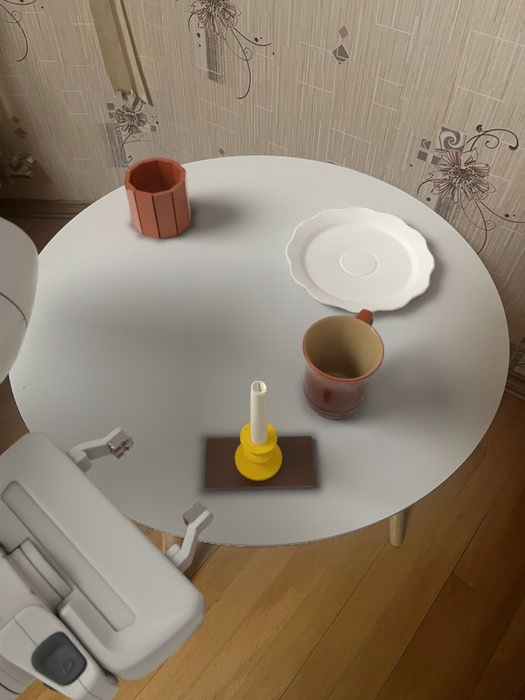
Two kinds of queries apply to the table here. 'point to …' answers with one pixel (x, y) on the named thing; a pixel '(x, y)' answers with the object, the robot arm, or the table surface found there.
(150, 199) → the holder cup
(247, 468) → the candle
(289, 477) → the walnut mat
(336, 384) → the mug
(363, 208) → the plate
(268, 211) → the table surface
